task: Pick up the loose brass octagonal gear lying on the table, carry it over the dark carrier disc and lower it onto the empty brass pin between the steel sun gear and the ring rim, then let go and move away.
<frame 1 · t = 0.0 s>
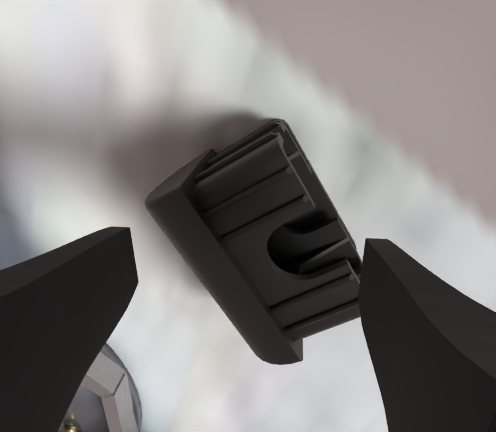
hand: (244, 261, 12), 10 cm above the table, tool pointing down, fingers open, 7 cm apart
end cap: (268, 212, 22), on the table
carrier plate: (14, 390, 31), on the table
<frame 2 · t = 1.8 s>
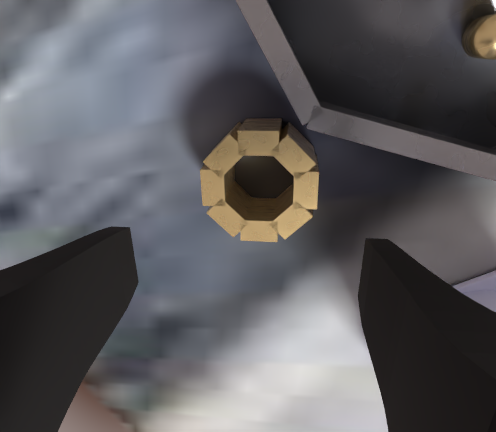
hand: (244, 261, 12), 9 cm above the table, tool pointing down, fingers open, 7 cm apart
planet gear: (264, 169, 20), on the table
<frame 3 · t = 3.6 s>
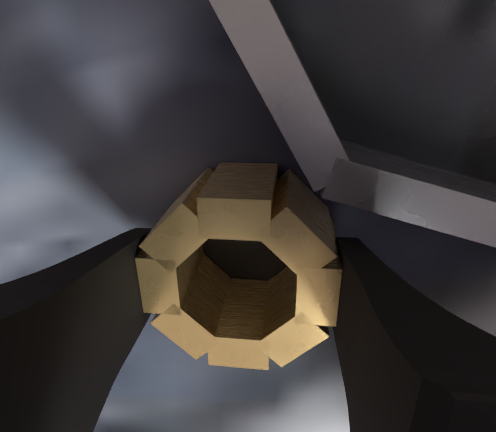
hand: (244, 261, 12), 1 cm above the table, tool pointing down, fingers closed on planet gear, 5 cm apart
planet gear: (249, 239, 13), on the table, touching gripper
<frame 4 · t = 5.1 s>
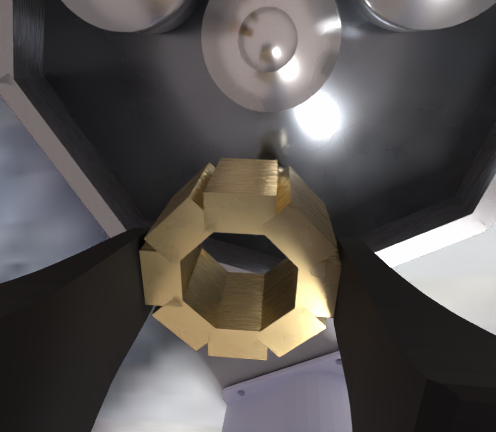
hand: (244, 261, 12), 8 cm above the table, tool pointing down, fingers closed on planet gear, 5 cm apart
planet gear: (247, 234, 13), point 7 cm above the table, touching gripper
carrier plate: (275, 41, 17), on the table
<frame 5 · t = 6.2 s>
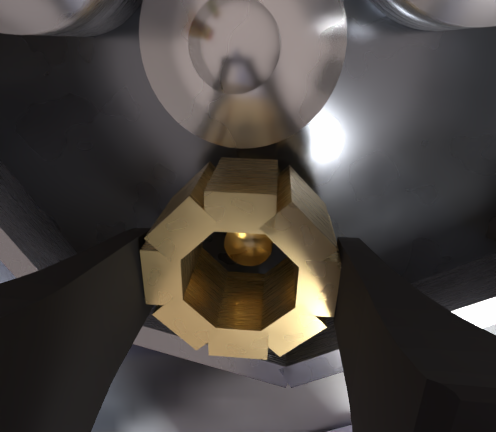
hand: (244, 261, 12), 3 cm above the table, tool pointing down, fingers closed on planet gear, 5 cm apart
planet gear: (247, 233, 13), point 2 cm above the table, touching gripper
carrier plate: (254, 45, 12), on the table
when the fingers open (3 cm above the table, at t = 7.0 s): planet gear stays where it is, resting on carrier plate.
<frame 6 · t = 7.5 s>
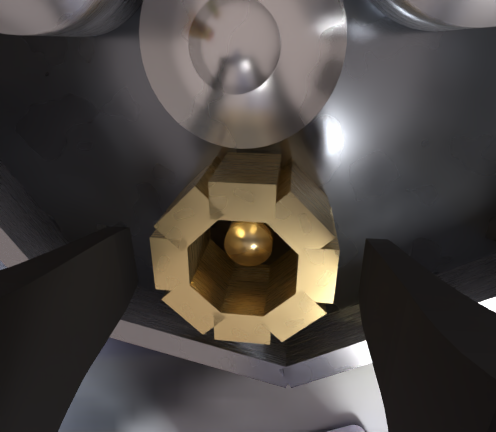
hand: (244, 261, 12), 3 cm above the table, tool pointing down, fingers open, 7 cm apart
planet gear: (253, 225, 14), point 1 cm above the table, touching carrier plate
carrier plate: (254, 45, 12), on the table
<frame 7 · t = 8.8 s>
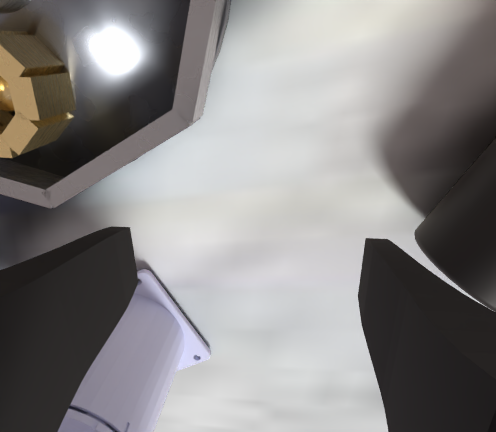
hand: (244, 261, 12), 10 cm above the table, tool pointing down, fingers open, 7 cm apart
planet gear: (23, 90, 19), point 1 cm above the table, touching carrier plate
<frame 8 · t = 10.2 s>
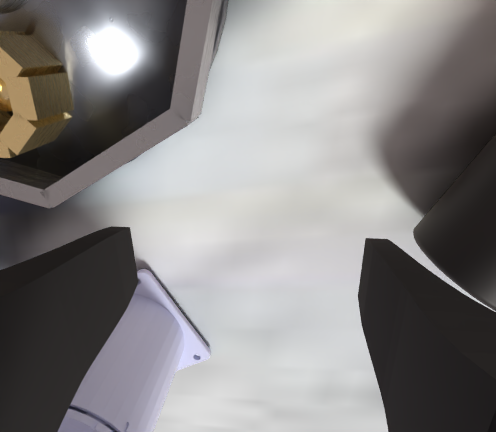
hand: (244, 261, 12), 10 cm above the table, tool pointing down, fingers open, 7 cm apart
planet gear: (21, 90, 19), point 1 cm above the table, touching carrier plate
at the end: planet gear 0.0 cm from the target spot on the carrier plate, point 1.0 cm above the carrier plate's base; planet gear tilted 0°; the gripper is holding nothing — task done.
